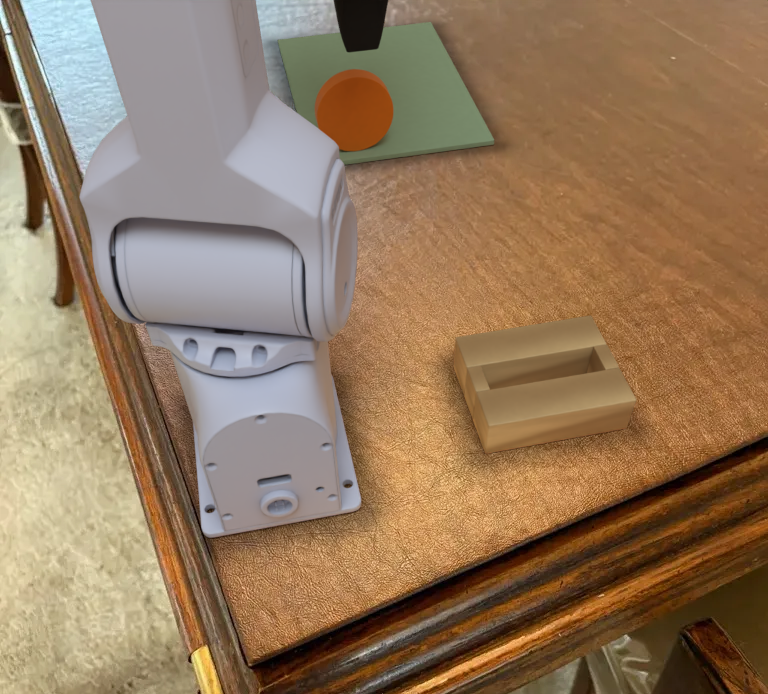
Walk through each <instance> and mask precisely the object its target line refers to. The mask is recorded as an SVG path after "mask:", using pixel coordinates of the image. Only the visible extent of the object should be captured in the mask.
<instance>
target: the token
mask: <svg viewBox="0 0 768 694" xmlns="http://www.w3.org/2000/svg"><path fill="white" fill-rule="evenodd" d="M393 110H394V109H393V103H392V99H391V97H390V94H389V92H388V90H387V87H386V86H385V84H384V83H383V81H382V80H381V79H380V78H379V77H377V76H376V75H374V74H373V73H371V72H368V71H365V70H360V69H351V70H345V71H342V72H340V73H337V74H336V75H334V76H332V77H331V78H330V79H329V80H327V81H326V82H325V84H324V85H323V86H322V88H321V89H320V91H319V93H318V95H317V98H316V102H315V117H316V121H317V124H318V127H319V129H320V130H321V131H322V132H323V133H325V134H326V135H327V136H328V137H330V138H331V139H332V140H333V141H335V143H336V144H337V145H338V146H339V149H341V150H344V151H360V150H364V149H367V148H369V147H371V146H373V145H375V144H376V143H377V142H379V141H380V140H381V139H382V138H383V137H384V136H385V134H386V133H387V131H388V130H389V128H390V125H391V123H392V119H393Z"/></svg>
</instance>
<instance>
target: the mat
mask: <svg viewBox="0 0 768 694" xmlns="http://www.w3.org/2000/svg"><path fill="white" fill-rule="evenodd" d="M277 45H278V48H279V53H280V56H281V60H282V63H283V67H284V71H285V75H286V79H287V82H288V83H287V84H288V87H289V90H290V93H291V98H292V101H293V105H294V108H295V109H294V110H295V112H297V113H298V114H299V115H301V116H302V117H303V118H305V119H306V120H308V121H309V122H310V123H312V124H313V125H314V126H316V127H317V128H318V129H319V127H318V124H317V121H316V117H315V102H316V98H317V95H318V93H319V91H320V89H321V88H322V86H323V85H324V84H325V82H326V81H327V80H329V79H330V78H331V77H332V76H334V75H336V74H337V73H340V72H342V71H345V70H351V69H360V70H365V71H368V72H371V73H373V74H374V75H376V76H377V77H379V78H380V79H381V80H382V81H383V83H384V84H385V86H386V87H387V90H388V92H389V94H390V97H391V99H392V103H393V109H394V110H393V119H392V123H391V125H390V128H389V130H388V131H387V133H386V134H385V136H384V137H383V138H382V139H381V140H380V141H379V142H377V143H376V144H375V145H373V146H371V147H369V148H367V149H364V150H360V151H344V150H341V149H339V155H340V160H341V161H342V162H343V163H344V165H345V166H346V165H354V164H355V165H356V164H360V163H369V162H375V161H383V160H390V159H391V160H392V159H399V158H406V157H414V156H420V155H428V154H435V153H443V152H449V151H450V152H451V151H458V150H465V149H473V148H478V147H487V146H494V145H495V139H494V137H493V134H492V132H491V131H490V129H489V128H488V125H487V123H486V122H485V120H484V118H483V116H482V114H481V112H480V111H479V109H478V106H477V105H476V103H475V101H474V99H473V98H472V95H471V93H470V91H469V90H468V88H467V86H466V85H465V83H464V81H463V78H462V77H461V75H460V73H459V72H458V69H457V68H456V66H455V64H454V62H453V60H452V58H451V57H450V55H449V53H448V52H447V50H446V47H445V45H444V43H443V42H442V39H441V38H440V36H439V34H438V33H437V30H436V29H435V27H434V25H433V23H432V22H431V21H426V22H418V23H410V24H401V25H392V26H391V25H390V26H384V27H383V32H382V37H381V41H380V45H379V48H378V49H375V50H366V51H358V52H347V51H346V49H345V46H344V43H343V40H342V37H341V34H340V32H333V33H322V34H315V35H306V36H299V37H298V36H297V37H288V38H281V39H277Z"/></svg>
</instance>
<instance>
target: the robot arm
mask: <svg viewBox="0 0 768 694" xmlns="http://www.w3.org/2000/svg"><path fill="white" fill-rule="evenodd" d="M90 3H91V7H92V9H93V13H94V15H95V19H96V22H97V25H98V28H99V31H100V34H101V38H102V40H103V43H104V47H105V49H106V50H105V51H106V53H107V57H108V59H109V63H110V65H111V68H112V72H113V76H114V77H115V82H116V84H117V88H118V90H119V93H120V97H121V100H122V103H123V106H124V109H125V112H126V116H125V117H124V118H123V119H121V120H120V121H119V122H118V123H117V124H116V125H115V126H114V127H113V128H112V129H111V130H110V131H108V133H107V134H106V135H105V136H104V137H102V139H101V141H100V142H99V144H98V145H97V147H96V148H95V149H94V152H93V154H92V156H91V157H90V160H89V162H88V164H87V167H86V169H85V173H84V177H83V181H82V184H81V189H80V192H79V201H80V204H81V206H82V209H83V211H84V213H85V217H86V220H87V225H88V228H89V233H90V239H91V252H92V253H91V255H92V264H93V268H94V275H95V278H96V282H97V285H98V288H99V290H100V292H101V295H102V296H103V297H104V299H105V300H106V302H107V304H108V306H109V307H110V309H111V311H112V312H113V313H114V314H115V316H116V317H117V318H118V319H120V320H121V321H123V322H125V323H128V324H134V325H143V324H145V328H146V331H147V335H148V338H149V340H150V343H151V345H152V346H154V347H160V348H163V349H166V350H168V351H169V353H170V356H171V359H172V362H173V365H174V369H175V371H176V374H177V378H178V380H179V383H180V387H181V389H182V392H183V395H184V399H185V402H186V405H187V408H188V411H189V414H190V417H191V421H192V428H193V440H194V441H193V442H194V452H195V453H194V454H195V465H196V479H197V490H198V502H199V515H200V527H201V531H202V533H203V535H204V536H205V537H207V538H209V539H210V538H218V537H223V536H229V535H234V534H235V535H236V534H241V533H247V532H252V531H256V530H262V529H266V528H272V527H279V526H282V525H289V524H294V523H299V522H305V521H310V520H316V519H320V518H326V517H332V516H338V515H342V514H348V513H354V512H356V511H358V510H359V509H360V508H361V507H362V496H361V491H360V488H359V484H358V479H357V475H356V470H355V466H354V461H353V457H352V453H351V449H350V444H349V441H348V436H347V432H346V427H345V423H344V419H343V415H342V410H341V406H340V401H339V398H338V394H337V389H336V388H337V387H336V384H335V379H334V376H333V375H332V367H331V358H330V357H331V356H330V347H329V342H331V341H332V340H333V339H334V338H335V337H336V336H337V334H338V333H340V332H341V331H342V330H343V329H345V327H346V325H347V323H348V321H349V318H350V314H351V310H352V306H353V300H354V296H355V289H356V288H355V287H356V282H357V281H356V279H357V269H358V268H357V267H358V253H359V252H358V251H359V233H358V232H359V231H358V218H357V211H356V207H355V204H354V201H353V200H352V199H351V197H350V193H349V187H348V180H347V175H346V174H347V173H346V165H344V163H343V162H342V161H341V160H340V155H339V146H338V145H337V144H336V143H335V141H333V140H332V139H331V138H330V137H328V136H327V135H326V134H325V133H323V132H322V131H321V130H320V129H318V128H317V127H316V126H314V125H313V124H312V123H310V122H309V121H308V120H306V119H305V118H303V117H302V116H301V115H299V114H298V113H297V112H296V110H295V109H292V108H291V107H290V106H289V105H287V104H286V103H285V102H284V101H282V100H281V99H280V98H278V97H277V96H276V95H275V94H274V93H273V92H272V91H271V89H270V85H269V84H270V83H269V78H268V72H267V65H266V58H265V53H264V46H263V39H262V33H261V26H260V20H259V14H258V13H259V12H258V7H257V0H90ZM388 4H389V0H333V5H334V11H335V16H336V20H337V21H336V22H337V25H338V30H339V33H340V34H341V37H342V40H343V43H344V46H345V49H346V51H347V52H358V51H366V50H375V49H378V48H379V45H380V41H381V37H382V32H383V27H385V22H386V16H387V10H388V6H389V5H388ZM346 485H350V487H345V486H346ZM209 510H213V511H212V512H208V511H209Z"/></svg>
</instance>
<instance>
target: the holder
mask: <svg viewBox="0 0 768 694" xmlns="http://www.w3.org/2000/svg"><path fill="white" fill-rule="evenodd" d="M454 339H455V340H454V355H453V366H452V367H453V370H454V372H455V375H456V378H457V380H458V384H459V387H460V388H461V392H462V395H463V397H464V400H465V402H466V405H467V408H468V411H469V413H470V417H471V419H472V421H473V424H474V428H475V430H476V432H477V433H476V434H477V435H478V438H479V441H480V444H481V446H482V449H483V452H484V454H486V455H488V454H492V453H497V452H503V451H510V450H514V449H520V448H526V447H531V446H537V445H543V444H547V443H553V442H560V441H565V440H570V439H575V438H582V437H587V436H592V435H598V434H604V433H608V432H615V431H620V430H625V429H628V425H629V423H630V420H631V417H632V415H633V411H634V409H635V406H636V403H637V397H636V395H635V394H634V392H633V390H632V388H631V386H630V384H629V383H628V380H627V379H626V377H625V376H624V374H623V372H622V370H621V368H620V365H619V363H618V362H617V360H616V358H615V356H614V355H613V353H612V351H611V349H610V347H609V345H608V344H607V341H606V340H605V338H604V336H603V335H602V333H601V331H600V329H599V327H598V325H597V324H596V322H595V320H594V318H593V316H592V315H591V314H590V315H584V316H578V317H572V318H565V319H560V320H554V321H547V322H541V323H534V324H528V325H522V326H515V327H510V328H503V329H498V330H492V331H485V332H479V333H473V334H466V335H461V336H460V335H459V336H456V337H455V338H454Z"/></svg>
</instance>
